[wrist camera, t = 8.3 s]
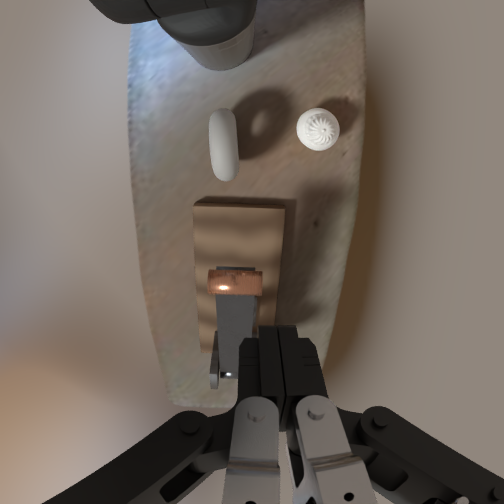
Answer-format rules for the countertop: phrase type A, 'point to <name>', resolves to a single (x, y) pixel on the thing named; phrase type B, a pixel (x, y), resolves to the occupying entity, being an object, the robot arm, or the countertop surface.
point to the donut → (224, 144)
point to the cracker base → (236, 261)
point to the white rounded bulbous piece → (318, 129)
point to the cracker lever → (233, 311)
